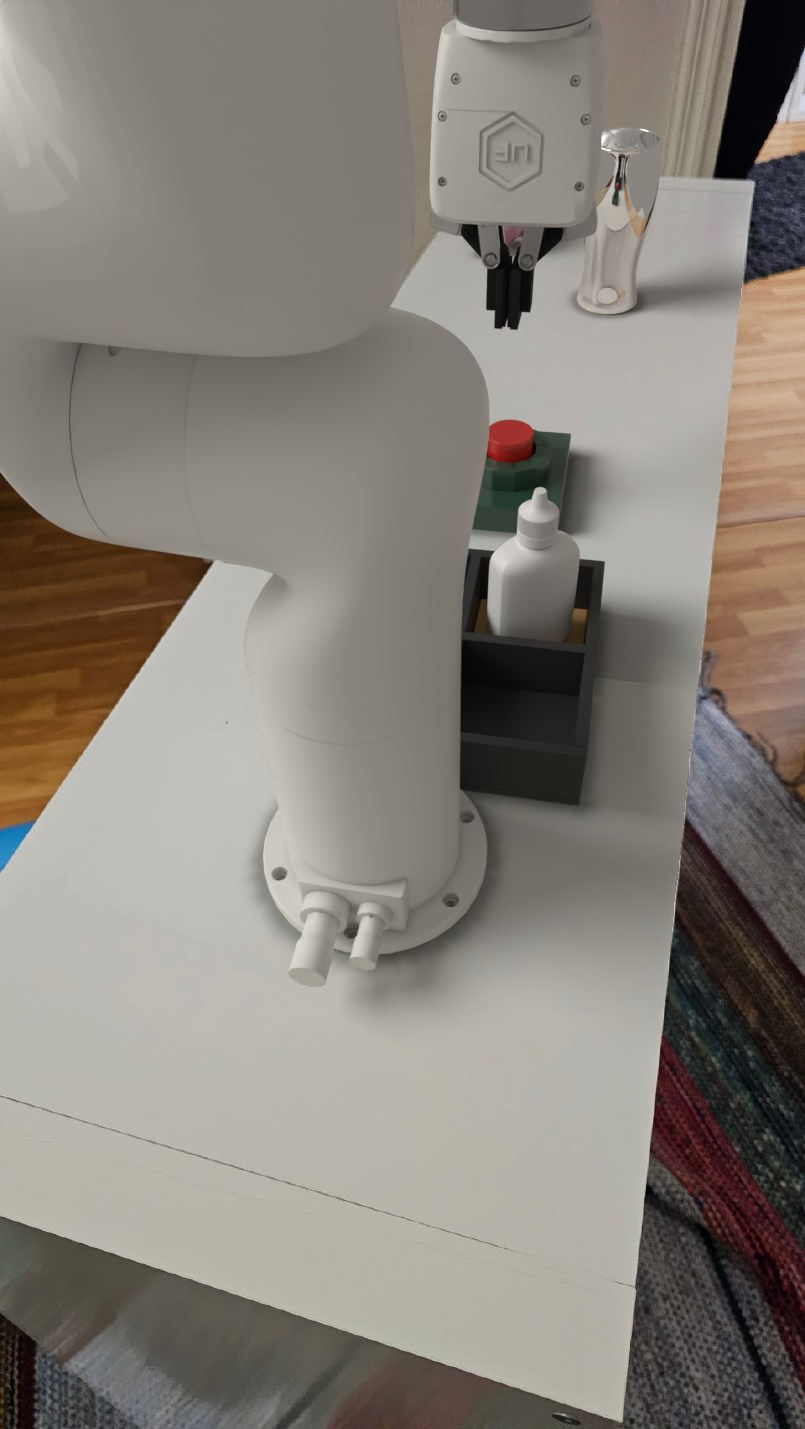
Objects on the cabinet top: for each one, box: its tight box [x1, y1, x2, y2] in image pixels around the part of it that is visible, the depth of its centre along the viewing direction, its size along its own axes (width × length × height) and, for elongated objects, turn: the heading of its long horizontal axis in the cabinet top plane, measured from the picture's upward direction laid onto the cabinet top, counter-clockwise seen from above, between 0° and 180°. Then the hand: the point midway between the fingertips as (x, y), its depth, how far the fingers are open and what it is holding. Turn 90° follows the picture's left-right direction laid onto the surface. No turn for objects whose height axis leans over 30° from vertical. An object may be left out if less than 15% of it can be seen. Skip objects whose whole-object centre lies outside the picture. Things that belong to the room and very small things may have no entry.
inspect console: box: [472, 428, 572, 534], centre depth 76 cm, size 11×9×4 cm
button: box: [487, 419, 534, 463], centre depth 74 cm, size 4×4×2 cm
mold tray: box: [460, 548, 606, 806], centre depth 62 cm, size 17×17×5 cm
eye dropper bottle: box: [486, 487, 581, 642], centre depth 60 cm, size 4×6×12 cm
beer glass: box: [576, 126, 664, 315], centre depth 93 cm, size 7×7×15 cm
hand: (508, 320), depth 66 cm, fingers closed
